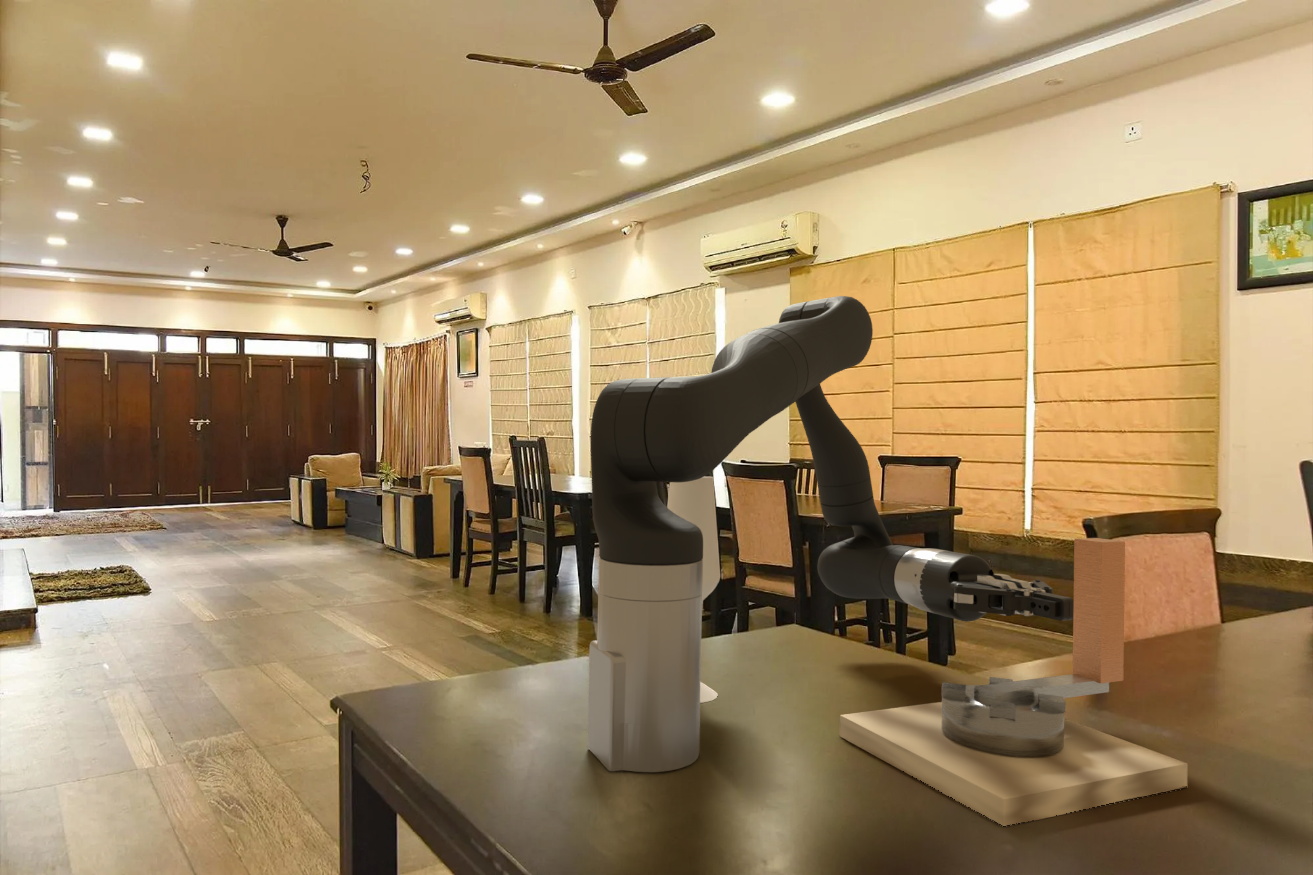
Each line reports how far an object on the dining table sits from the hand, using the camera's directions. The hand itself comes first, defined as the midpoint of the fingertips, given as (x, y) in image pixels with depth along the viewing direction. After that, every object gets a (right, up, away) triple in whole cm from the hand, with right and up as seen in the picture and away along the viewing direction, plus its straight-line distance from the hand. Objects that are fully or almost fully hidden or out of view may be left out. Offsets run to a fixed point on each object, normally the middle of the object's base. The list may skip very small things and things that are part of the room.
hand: (1069, 609), depth 81 cm
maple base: (-10, -12, -8) cm, 17 cm away
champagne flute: (-37, -12, +10) cm, 40 cm away
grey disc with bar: (-6, -10, -6) cm, 13 cm away
